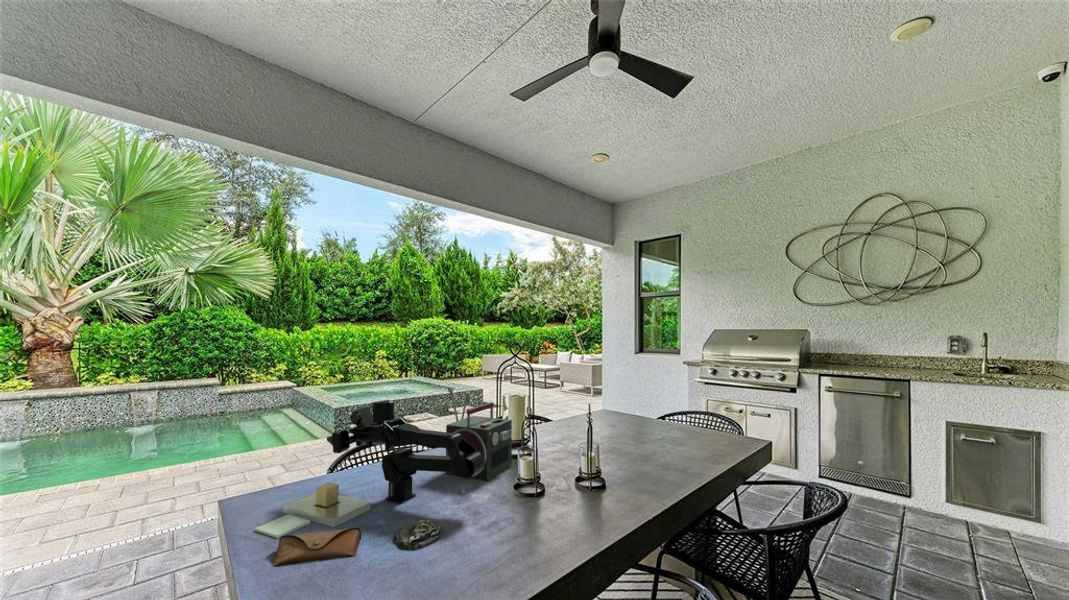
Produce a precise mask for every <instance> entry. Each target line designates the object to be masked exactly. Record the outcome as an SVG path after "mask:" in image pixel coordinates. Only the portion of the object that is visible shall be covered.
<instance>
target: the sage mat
mask: <svg viewBox="0 0 1069 600" xmlns="http://www.w3.org/2000/svg"><path fill="white" fill-rule="evenodd" d="M311 523H312V521H310V520H307V519H303V518H300V517H296V516H293V515H289V514H285V515H283V516H281V517H279V518H276V519H274V520H272V521H268V522H266V523H264V524H261V525H260V526H256V527H255V528H254V531H255V532H257V533H261V534H264V535H267V536H269V537H273V538H276V539H280V537H281V536H284V535H289V534H290V533H293V532H294V531H296V530H298V529H299V530H300V529H301V528H303V527H305V526H308V525H310V524H311Z"/></svg>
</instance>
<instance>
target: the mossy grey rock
mask: <svg viewBox="0 0 1069 600" xmlns="http://www.w3.org/2000/svg"><path fill="white" fill-rule="evenodd" d="M440 528H441V526H437V524H434V521H432V520H430V519H429V520H428V519H421V520H419V521H418V522H417V523H411V524H407V525H405V526H403V527H400V528H398V530H396V531H395V532H394V535H393V536H394V537H393V543H394V545H395V546H396V548H399V549H401V550H403V551H404V550H405V551H418V550H420V549H421V550H422V549H424V548H426V547H429V546H431V545H433V544H435V543H437V542H438V541H439V540H440V534H441V532H440Z"/></svg>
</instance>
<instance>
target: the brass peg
mask: <svg viewBox="0 0 1069 600" xmlns="http://www.w3.org/2000/svg"><path fill="white" fill-rule="evenodd" d="M339 488H340V485H339V484H337V483H333V482H326V483H325V484H321V485H319V486H316V492H315V493H316V507H320V508H323V509H327V508H329V507H332V506H334V505H336V504H338V495H340V494H339V491H340V489H339Z"/></svg>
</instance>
